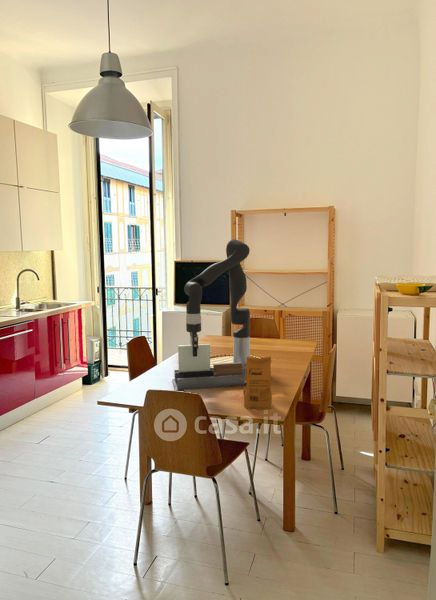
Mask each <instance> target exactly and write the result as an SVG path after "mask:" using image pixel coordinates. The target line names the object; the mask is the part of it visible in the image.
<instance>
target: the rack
mask: <svg viewBox="0 0 436 600" xmlns="http://www.w3.org/2000/svg"><path fill="white" fill-rule="evenodd" d="M242 368H243V375H228V376H214V373H213V367H210V370H204V371H187V372H179V369H174V370H173V371H174V372H173V374H174V378H172V380H171V381H172V385H173V388H174V391H175V390H176V391H184V392H185V391H189V390H192V391H193V390H204V389H205V390H206V389H220V388H222V389H223V388H235V387H244V382H245V374H246V367H245V366H242Z"/></svg>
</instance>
